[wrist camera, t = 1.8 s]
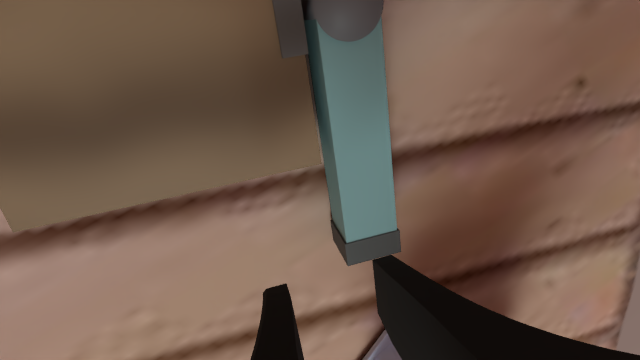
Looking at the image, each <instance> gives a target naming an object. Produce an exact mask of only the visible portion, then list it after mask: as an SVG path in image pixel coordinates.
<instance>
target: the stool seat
mask: <svg viewBox="0 0 640 360" xmlns="http://www.w3.org/2000/svg"><path fill="white" fill-rule="evenodd" d="M305 54H309V52H308V45H307V38H306V32H305V25H304V18H303V11H302V4H301V0H0V208H1V210H2V212H3V214H4V216H5V218H6V220H7V222H8V224H9V226H10V228H11V229H12V231H13V232H17V231H22V230H26V229H31V228H35V227H40V226H44V225H49V224H53V223H58V222H62V221H66V220H71V219H75V218H80V217H84V216H89V215H93V214H98V213H102V212H107V211H111V210H116V209H120V208H125V207H129V206H134V205H138V204H143V203H147V202H152V201H156V200H161V199H165V198H170V197H174V196H179V195H183V194H188V193H192V192H197V191H201V190H206V189H210V188H214V187H219V186H223V185H228V184H232V183H237V182H241V181H246V180H250V179H255V178H259V177H264V176H268V175H273V174H277V173H282V172H286V171H291V170H295V169H300V168H304V167H309V166H313V165H318V164H322V163H321V157H320V150H319V143H318V137H317V130H316V123H315V117H314V110H313V103H312V97H311V90H310V83H309V77H308V70H307V63H306V57H305Z"/></svg>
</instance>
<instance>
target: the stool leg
mask: <svg viewBox="0 0 640 360" xmlns="http://www.w3.org/2000/svg"><path fill="white" fill-rule="evenodd" d="M301 4H302V11H303V18H304V25H305V32H306V38H307V45H308V52H309V54H308V56H309V63H310V70H311V76H312V83H313V90H314V97H315V104H316V110H317V117H318V124H319V131H320V138H321V144H322V151H323V158H324V165H325V172H326V178H327V185H328V192H329V199H330V206H331V212H332V219H333V220H331V227H332V233H333V240H334V242H335V244H336V245H337V247H338V249H339V251H340V253H341V255H342V256H343V258H344V260H345V262H346V264H347V265H348V266H350V265H354V264H357V263H361V262H365V261H369V260H372V259H376V258H380V257H383V256H387V255H391V254H394V253H398V252H401V245H400V231H399V229H398V228H397V223H396V210H395V196H394V183H393V169H392V155H391V142H390V128H389V115H388V101H387V87H386V74H385V60H384V47H383V33H382V20H381V14H382V10H383V0H301Z"/></svg>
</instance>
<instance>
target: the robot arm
mask: <svg viewBox="0 0 640 360" xmlns="http://www.w3.org/2000/svg"><path fill="white" fill-rule="evenodd" d="M373 270H374V279H375V289H376V298H377V308H378V314H379V316H380V318H381V320H382V323H383V325H384V327H385V330H384V332H383V333H382V334H381V336H380V337H379V338H378V340H377V341H376V342H375V344H374V345H373V346H372V348H371V349H370V350H369V352H368V353H367V354H366V356H365V357H364V358H363V360H640V355H635V354H630V353H625V352H621V351H616V350H611V349H607V348H603V347H599V346H595V345H591V344H587V343H584V342H580V341H576V340H573V339H569V338H566V337H562V336H559V335H556V334H553V333H550V332H547V331H544V330H541V329H538V328H535V327H532V326H529V325H526V324H523V323H521V322H518V321H515V320H513V319H510V318H508V317H505V316H503V315H501V314H498V313H496V312H494V311H491V310H489V309H487V308H484V307H482V306H480V305H478V304H476V303H474V302H472V301H470V300H468V299H466V298H464V297H462V296H460V295H458V294H456V293H454V292H452V291H450V290H449V289H447V288H445V287H443V286H441V285H440V284H438V283H436V282H435V281H433V280H431V279H429V278H428V277H426V276H424V275H423V274H421V273H419V272H418V271H416V270H415V269H413V268H411V267H410V266H408V265H407V264H405V263H403V262H402V261H400V260H399V259H397V258H395V257H394V256H392V255H389V256H385V257H382V258H378V259H374V260H373ZM251 360H304V357H303V352H302V348H301V343H300V338H299V334H298V329H297V324H296V320H295V315H294V310H293V306H292V301H291V297H290V294H289V290H288V287H287V284H283V285H279V286H275V287H272V288H268V289H266V290H265V291H264V292H263V306H262V314H261V320H260V325H259V329H258V334H257V338H256V342H255V346H254V350H253V353H252V356H251Z"/></svg>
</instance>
